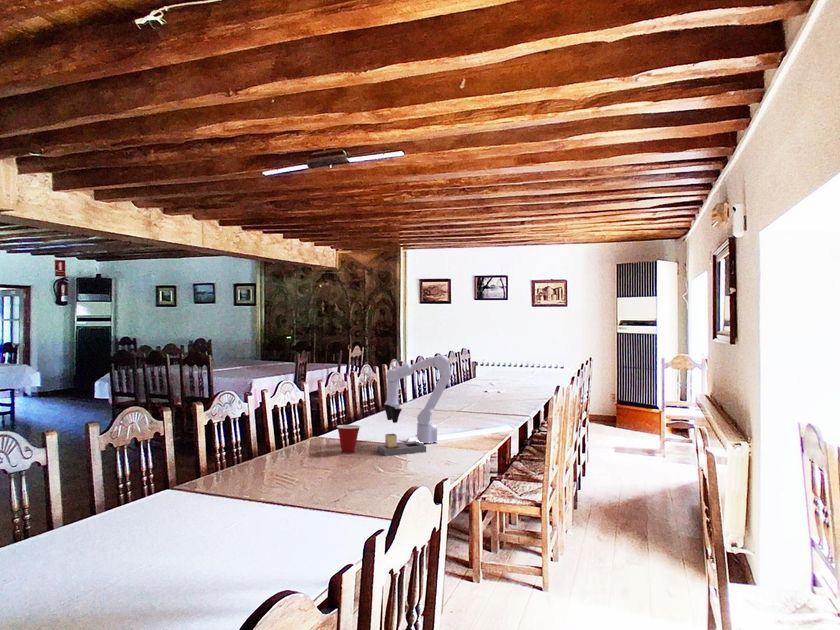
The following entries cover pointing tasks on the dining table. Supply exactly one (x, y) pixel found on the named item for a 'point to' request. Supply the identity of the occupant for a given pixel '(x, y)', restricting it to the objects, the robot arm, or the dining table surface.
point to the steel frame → (402, 448)
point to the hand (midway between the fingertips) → (392, 421)
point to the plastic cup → (348, 437)
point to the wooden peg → (390, 441)
